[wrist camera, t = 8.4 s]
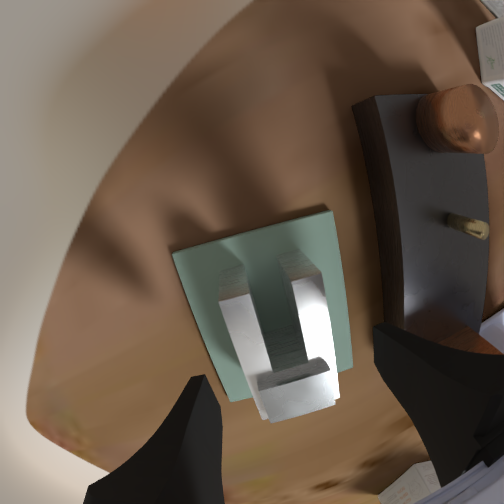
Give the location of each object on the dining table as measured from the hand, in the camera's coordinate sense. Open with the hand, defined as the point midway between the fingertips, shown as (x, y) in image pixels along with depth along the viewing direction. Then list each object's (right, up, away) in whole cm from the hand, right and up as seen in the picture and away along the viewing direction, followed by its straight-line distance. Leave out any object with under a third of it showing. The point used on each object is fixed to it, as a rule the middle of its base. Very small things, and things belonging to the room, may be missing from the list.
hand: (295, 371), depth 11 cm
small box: (+19, -25, +14) cm, 34 cm away
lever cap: (0, +1, +4) cm, 4 cm away
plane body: (+9, +6, +4) cm, 11 cm away
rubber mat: (-1, +1, +4) cm, 5 cm away
